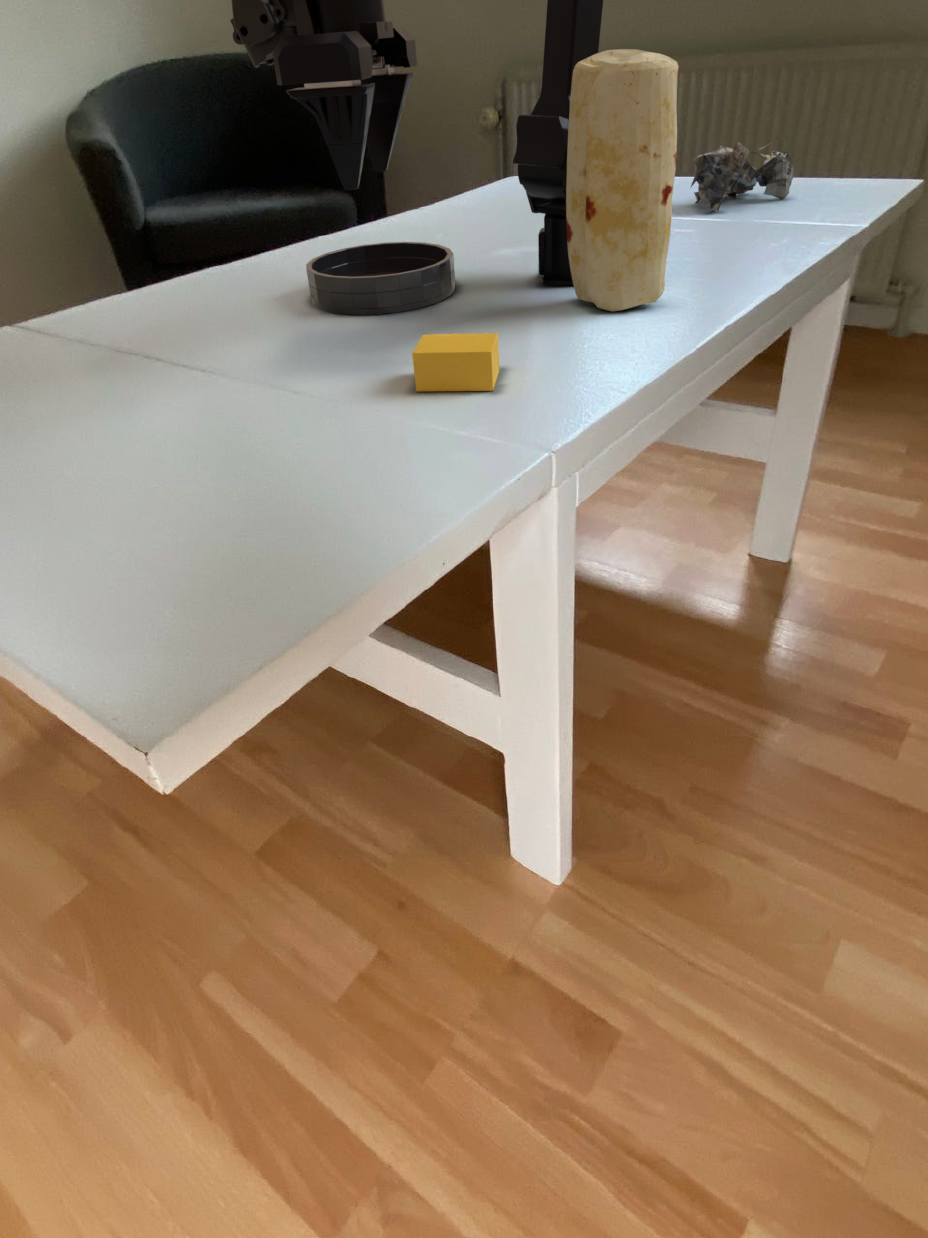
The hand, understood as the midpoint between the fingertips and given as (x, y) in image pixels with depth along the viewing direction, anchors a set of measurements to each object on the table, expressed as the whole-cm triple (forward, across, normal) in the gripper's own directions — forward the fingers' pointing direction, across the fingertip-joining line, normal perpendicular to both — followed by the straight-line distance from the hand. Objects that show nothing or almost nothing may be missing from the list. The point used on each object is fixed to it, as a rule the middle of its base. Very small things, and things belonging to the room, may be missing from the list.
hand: (366, 179), depth 68 cm
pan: (+13, -13, -4) cm, 19 cm away
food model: (+13, -8, +21) cm, 25 cm away
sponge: (+13, +12, +9) cm, 20 cm away
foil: (+13, -55, +36) cm, 67 cm away
